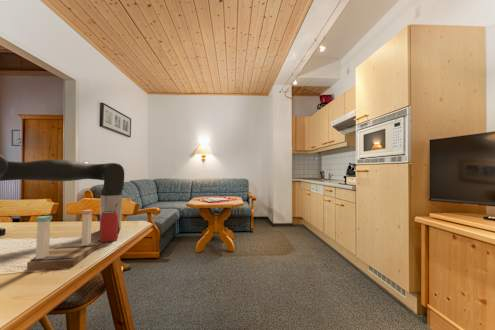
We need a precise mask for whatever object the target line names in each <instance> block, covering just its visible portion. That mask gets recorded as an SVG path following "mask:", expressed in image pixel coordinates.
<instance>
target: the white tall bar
mask: <svg viewBox="0 0 495 330" xmlns="http://www.w3.org/2000/svg"><path fill="white" fill-rule="evenodd" d="M80 213H81V215H82V217H81V218H82V220H81V221H82V223H81V244H82V246H87V245H89V244H90V243H92V221H93V220H92V219H93V214H94V209H84V210H81V211H80Z"/></svg>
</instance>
